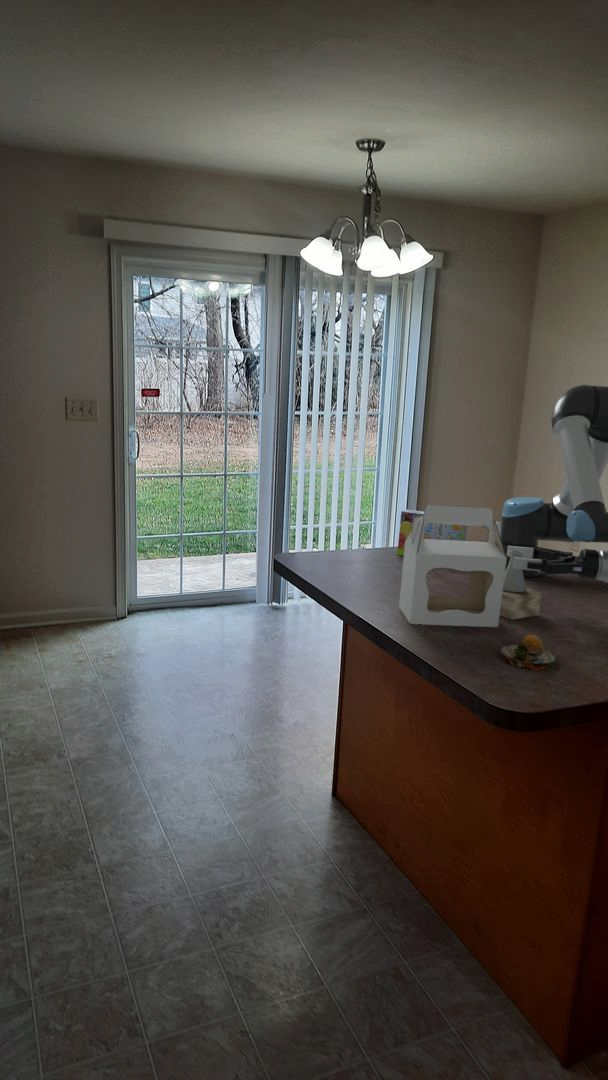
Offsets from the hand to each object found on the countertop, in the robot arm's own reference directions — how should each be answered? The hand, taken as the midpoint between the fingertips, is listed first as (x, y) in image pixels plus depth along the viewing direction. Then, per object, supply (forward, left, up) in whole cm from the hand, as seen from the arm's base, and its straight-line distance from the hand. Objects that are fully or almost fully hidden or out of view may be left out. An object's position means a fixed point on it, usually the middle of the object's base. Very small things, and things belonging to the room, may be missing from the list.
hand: (510, 556), depth 198 cm
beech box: (-1, +1, -14) cm, 15 cm away
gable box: (+18, -1, -15) cm, 23 cm away
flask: (-1, +1, -9) cm, 9 cm away
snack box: (-19, -52, -15) cm, 57 cm away
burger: (+22, +28, -15) cm, 38 cm away
